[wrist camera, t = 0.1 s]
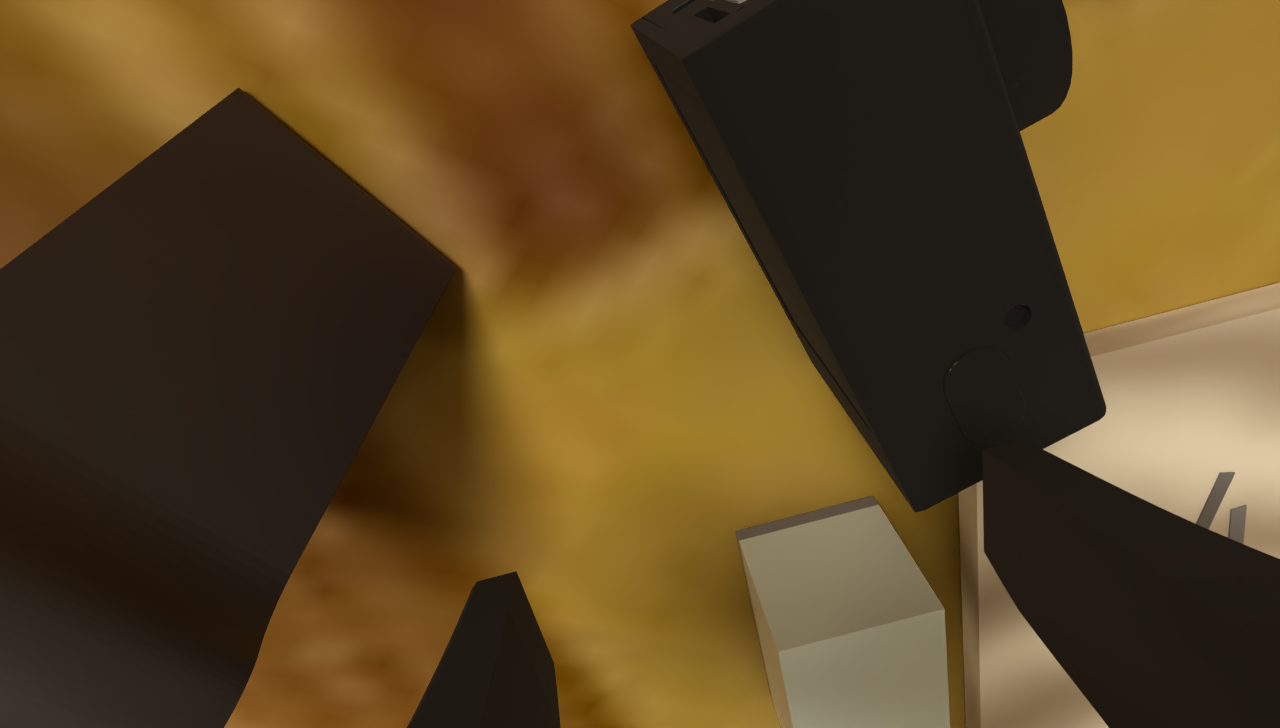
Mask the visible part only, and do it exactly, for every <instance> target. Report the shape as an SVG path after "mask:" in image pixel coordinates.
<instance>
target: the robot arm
mask: <svg viewBox="0 0 1280 728" xmlns="http://www.w3.org/2000/svg"><path fill="white" fill-rule="evenodd" d="M982 465H983V530H984V553H985V554H986V556H987V558H988V560H989V561H990V563H991V565H992V566H993V568H994V570H995V572H996V573H997V575H998V577H999V579H1000V580H1001V582H1002V584H1003V586H1004V587H1005V589H1006V590H1007V592H1008V594H1009V595H1010V597H1011V599H1012V600H1013V602H1014V604H1015V605H1016V607H1017V608H1018V610H1019V611H1020V613H1021V614H1022V616H1023V617H1024V618H1025V620H1026V621H1027V622H1028V624H1029V625H1030V626H1031V627H1032V629H1033V630H1034V631H1035V633H1036V634H1037V635H1038V637H1039V638H1040V639H1041V641H1042V642H1043V643H1044V644H1045V646H1046V647H1047V648H1048V650H1049V651H1050V652H1051V654H1052V655H1053V656H1054V658H1055V659H1056V660H1057V661H1058V663H1059V664H1060V665H1061V667H1062V668H1063V669H1064V670H1065V672H1066V673H1067V674H1068V676H1069V677H1070V678H1071V679H1072V681H1073V682H1074V683H1075V685H1076V686H1077V687H1078V688H1079V690H1080V691H1081V692H1082V694H1083V695H1084V696H1085V697H1086V699H1087V700H1088V701H1089V703H1090V704H1091V705H1092V706H1093V708H1094V709H1095V710H1096V712H1097V713H1098V714H1099V715H1100V717H1101V718H1102V719H1103V721H1104V722H1105V723H1106V724H1107V726H1108V727H1109V728H1280V559H1279V558H1276V557H1274V556H1271V555H1268V554H1266V553H1263V552H1261V551H1258V550H1256V549H1254V548H1251V547H1249V546H1246V545H1244V544H1242V543H1239V542H1237V541H1235V540H1232V539H1230V538H1228V537H1225V536H1223V535H1220V534H1218V533H1216V532H1213V531H1211V530H1209V529H1206V528H1204V527H1202V526H1200V525H1197V524H1195V523H1193V522H1191V521H1189V520H1186V519H1184V518H1182V517H1180V516H1177V515H1175V514H1173V513H1171V512H1169V511H1167V510H1165V509H1162V508H1160V507H1158V506H1156V505H1154V504H1152V503H1150V502H1148V501H1146V500H1143V499H1141V498H1139V497H1137V496H1135V495H1133V494H1131V493H1129V492H1127V491H1125V490H1123V489H1121V488H1119V487H1117V486H1115V485H1113V484H1111V483H1109V482H1107V481H1105V480H1103V479H1101V478H1099V477H1097V476H1095V475H1093V474H1091V473H1089V472H1087V471H1085V470H1083V469H1081V468H1079V467H1077V466H1075V465H1073V464H1071V463H1069V462H1067V461H1065V460H1063V459H1061V458H1059V457H1057V456H1055V455H1053V454H1051V453H1049V452H1047V451H1045V450H1043V449H1041V448H1039V447H1037V446H1035V445H1033V444H1030V443H1028V442H1026V441H1024V440H1018V441H1014V442H1010V443H1007V444H1003V445H999V446H995V447H991V448H987V449H984V450H982ZM407 728H560V718H559V707H558V697H557V687H556V678H555V669H554V662H553V660H552V658H551V655H550V653H549V650H548V648H547V645H546V643H545V640H544V638H543V636H542V633H541V631H540V628H539V626H538V623H537V621H536V618H535V616H534V614H533V611H532V609H531V606H530V604H529V601H528V599H527V596H526V594H525V592H524V589H523V587H522V584H521V582H520V579H519V577H518V574H517V572H512V573H508V574H504V575H501V576H497V577H493V578H489V579H485V580H481V581H478V582H476V584H475V586H474V587H473V589H472V591H471V593H470V595H469V598H468V600H467V602H466V605H465V607H464V609H463V612H462V614H461V616H460V618H459V621H458V623H457V625H456V628H455V630H454V632H453V634H452V637H451V639H450V641H449V643H448V645H447V648H446V650H445V652H444V654H443V656H442V658H441V661H440V663H439V665H438V667H437V669H436V671H435V673H434V675H433V677H432V679H431V681H430V683H429V685H428V687H427V689H426V691H425V693H424V695H423V697H422V700H421V702H420V704H419V706H418V708H417V710H416V712H415V713H414V715H413V717H412V719H411V721H410V723H409V725H408V727H407Z"/></svg>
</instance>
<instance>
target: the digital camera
mask: <svg viewBox="0 0 1280 728" xmlns="http://www.w3.org/2000/svg"><path fill="white" fill-rule="evenodd" d="M646 19H647V20H646ZM648 20H649V21H648ZM650 21H651V22H650ZM652 22H653V23H652ZM654 23H655V24H654ZM656 24H657V25H656ZM631 27H632V29H633V31H634V32H635V34H636V36H637V38H638V40H639V42H640V44H641V45H642V47H643V49H644V51H645V53H646V55H647V57H648V58H649V60H650V62H651V64H652V66H653V68H654V70H655V71H656V73H657V75H658V77H659V79H660V81H661V83H662V84H663V86H664V88H665V90H666V92H667V94H668V96H669V97H670V99H671V101H672V103H673V105H674V107H675V109H676V110H677V112H678V114H679V116H680V118H681V120H682V122H683V123H684V125H685V127H686V129H687V131H688V133H689V135H690V136H691V138H692V140H693V142H694V144H695V146H696V148H697V149H698V151H699V153H700V155H701V157H702V159H703V161H704V162H705V164H706V166H707V168H708V170H709V172H710V174H711V175H712V177H713V179H714V181H715V183H716V185H717V187H718V188H719V190H720V192H721V194H722V196H723V198H724V200H725V201H726V203H727V205H728V207H729V209H730V211H731V213H732V214H733V216H734V218H735V220H736V222H737V224H738V226H739V227H740V229H741V231H742V233H743V235H744V237H745V239H746V240H747V242H748V244H749V246H750V248H751V250H752V252H753V253H754V255H755V257H756V259H757V261H758V263H759V265H760V266H761V268H762V270H763V272H764V274H765V276H766V278H767V279H768V281H769V283H770V285H771V287H772V289H773V291H774V292H775V294H776V296H777V298H778V300H779V302H780V304H781V305H782V307H783V309H784V311H785V313H786V315H787V317H788V318H789V320H790V322H791V324H792V326H793V328H794V330H795V331H796V333H797V335H798V337H799V339H800V341H801V343H802V344H803V346H804V348H805V350H806V352H807V354H808V356H809V357H810V359H811V361H812V363H813V364H814V366H815V367H816V369H817V370H818V372H819V373H820V375H821V376H822V378H823V379H824V380H825V382H826V383H827V385H828V386H829V388H830V389H831V391H832V392H833V394H834V395H835V397H836V398H837V399H838V401H839V402H840V404H841V405H842V407H843V408H844V410H845V411H846V413H847V414H848V415H849V417H850V418H851V420H852V421H853V423H854V424H855V426H856V427H857V429H858V430H859V431H860V433H861V434H862V436H863V437H864V439H865V440H866V442H867V443H868V445H869V446H870V447H871V449H872V450H873V452H874V453H875V455H876V456H877V458H878V459H879V461H880V462H881V463H882V465H883V466H884V468H885V469H886V471H887V472H888V474H889V475H890V477H891V478H892V479H893V481H894V482H895V484H896V485H897V487H898V488H899V490H900V491H901V493H902V494H903V495H904V497H905V498H906V500H907V501H908V503H909V504H910V506H911V507H912V508H913V510H914V511H915V512H919V511H923V510H926V509H928V508H930V507H931V506H933V505H935V504H937V503H939V502H941V501H943V500H945V499H947V498H949V497H951V496H953V495H955V494H957V493H959V492H961V491H962V490H964V489H966V488H968V487H970V486H972V485H974V484H976V483H978V482H980V481H982V480H983V465H982V450H984V449H987V448H991V447H995V446H999V445H1003V444H1007V443H1010V442H1014V441H1018V440H1024V441H1026V442H1028V443H1030V444H1033V445H1035V446H1037V447H1039V448H1041V449H1044V448H1046V447H1048V446H1050V445H1052V444H1054V443H1056V442H1058V441H1060V440H1062V439H1064V438H1066V437H1068V436H1070V435H1072V434H1074V433H1076V432H1078V431H1079V430H1081V429H1083V428H1085V427H1087V426H1089V425H1091V424H1093V423H1095V422H1097V421H1099V420H1100V419H1101V418H1103V417H1104V416H1105V414H1106V404H1105V400H1104V397H1103V394H1102V391H1101V388H1100V385H1099V381H1098V378H1097V375H1096V372H1095V369H1094V366H1093V363H1092V359H1091V356H1090V353H1089V350H1088V347H1087V344H1086V340H1085V337H1084V334H1083V331H1082V328H1081V325H1080V321H1079V318H1078V315H1077V312H1076V309H1075V306H1074V302H1073V299H1072V296H1071V293H1070V290H1069V287H1068V283H1067V280H1066V277H1065V274H1064V271H1063V268H1062V264H1061V261H1060V258H1059V255H1058V252H1057V249H1056V245H1055V242H1054V239H1053V236H1052V233H1051V230H1050V227H1049V223H1048V220H1047V217H1046V214H1045V211H1044V208H1043V204H1042V201H1041V198H1040V195H1039V192H1038V189H1037V185H1036V182H1035V179H1034V176H1033V173H1032V170H1031V166H1030V163H1029V160H1028V157H1027V154H1026V151H1025V147H1024V144H1023V141H1022V138H1021V135H1020V131H1021V130H1023V129H1025V128H1027V127H1029V126H1030V125H1032V124H1034V123H1036V122H1038V121H1039V120H1041V119H1043V118H1045V117H1047V116H1048V115H1050V114H1052V113H1053V112H1054V111H1056V110H1057V109H1058V108H1059V107H1060V106H1061V104H1062V103H1063V101H1064V100H1065V98H1066V96H1067V93H1068V90H1069V87H1070V84H1071V77H1072V45H1071V37H1070V31H1069V26H1068V21H1067V16H1066V11H1065V8H1064V5H1063V2H1062V0H668V1H666V2H665V3H663V4H662V5H660V6H659V7H657V8H656V9H654V10H652V11H651V12H649V13H648V14H646V15H645V16H643V17H642V18H640V19H639V20H637V21H636V22H634V23H633V24H631Z"/></svg>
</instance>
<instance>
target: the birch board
mask: <svg viewBox="0 0 1280 728" xmlns="http://www.w3.org/2000/svg"><path fill="white" fill-rule="evenodd" d="M1084 337H1085V340H1086V344H1087V347H1088V350H1089V353H1090V356H1091V359H1092V363H1093V366H1094V369H1095V372H1096V375H1097V378H1098V381H1099V385H1100V388H1101V391H1102V394H1103V397H1104V400H1105V404H1106V414H1105V416H1104V417H1103V418H1101V419H1100V420H1099V421H1097V422H1095V423H1093V424H1091V425H1089V426H1087V427H1085V428H1083V429H1081V430H1079V431H1078V432H1076V433H1074V434H1072V435H1070V436H1068V437H1066V438H1064V439H1062V440H1060V441H1058V442H1056V443H1054V444H1052V445H1050V446H1048V447H1046V448H1044V449H1043V450H1045V451H1047V452H1049V453H1051V454H1053V455H1055V456H1057V457H1059V458H1061V459H1063V460H1065V461H1067V462H1069V463H1071V464H1073V465H1075V466H1077V467H1079V468H1081V469H1083V470H1085V471H1087V472H1089V473H1091V474H1093V475H1095V476H1097V477H1099V478H1101V479H1103V480H1105V481H1107V482H1109V483H1111V484H1113V485H1115V486H1117V487H1119V488H1121V489H1123V490H1125V491H1127V492H1129V493H1131V494H1133V495H1135V496H1137V497H1139V498H1141V499H1143V500H1146V501H1148V502H1150V503H1152V504H1154V505H1156V506H1158V507H1160V508H1162V509H1165V510H1167V511H1169V512H1171V513H1173V514H1175V515H1177V516H1180V517H1182V518H1184V519H1186V520H1189V521H1191V522H1193V523H1195V524H1197V525H1200V526H1202V527H1204V528H1206V529H1209V530H1211V531H1213V532H1216V533H1218V534H1220V535H1223V536H1225V537H1228V538H1230V539H1232V540H1235V541H1237V542H1239V543H1242V544H1244V545H1246V546H1249V547H1251V548H1254V549H1256V550H1258V551H1261V552H1263V553H1266V554H1268V555H1271V556H1274V557H1276V558H1279V559H1280V283H1276V284H1272V285H1269V286H1265V287H1261V288H1257V289H1253V290H1249V291H1246V292H1242V293H1238V294H1234V295H1230V296H1226V297H1222V298H1219V299H1215V300H1211V301H1207V302H1203V303H1199V304H1195V305H1192V306H1188V307H1184V308H1180V309H1176V310H1172V311H1169V312H1165V313H1161V314H1157V315H1153V316H1149V317H1145V318H1142V319H1138V320H1134V321H1130V322H1126V323H1122V324H1118V325H1115V326H1111V327H1107V328H1103V329H1099V330H1095V331H1092V332H1088V333H1084ZM958 497H959V528H960V560H961V592H962V623H963V655H964V687H965V718H966V728H1109V727H1108V726H1107V724H1106V723H1105V722H1104V721H1103V719H1102V718H1101V717H1100V715H1099V714H1098V713H1097V712H1096V710H1095V709H1094V708H1093V706H1092V705H1091V704H1090V703H1089V701H1088V700H1087V699H1086V697H1085V696H1084V695H1083V694H1082V692H1081V691H1080V690H1079V688H1078V687H1077V686H1076V685H1075V683H1074V682H1073V681H1072V679H1071V678H1070V677H1069V676H1068V674H1067V673H1066V672H1065V670H1064V669H1063V668H1062V667H1061V665H1060V664H1059V663H1058V661H1057V660H1056V659H1055V658H1054V656H1053V655H1052V654H1051V652H1050V651H1049V650H1048V648H1047V647H1046V646H1045V644H1044V643H1043V642H1042V641H1041V639H1040V638H1039V637H1038V635H1037V634H1036V633H1035V631H1034V630H1033V629H1032V627H1031V626H1030V625H1029V624H1028V622H1027V621H1026V620H1025V618H1024V617H1023V616H1022V614H1021V613H1020V611H1019V610H1018V608H1017V607H1016V605H1015V604H1014V602H1013V600H1012V599H1011V597H1010V595H1009V594H1008V592H1007V590H1006V589H1005V587H1004V586H1003V584H1002V582H1001V580H1000V579H999V577H998V575H997V573H996V572H995V570H994V568H993V566H992V565H991V563H990V561H989V560H988V558H987V556H986V554H985V553H984V530H983V480H982V481H980V482H978V483H976V484H974V485H972V486H970V487H968V488H966V489H964V490H962V491H961V492H959V493H958Z"/></svg>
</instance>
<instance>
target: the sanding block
mask: <svg viewBox="0 0 1280 728" xmlns="http://www.w3.org/2000/svg"><path fill="white" fill-rule="evenodd" d="M736 536H737V541H738V545H739V550H740V555H741V559H742V564H743V569H744V573H745V578H746V583H747V587H748V592H749V597H750V601H751V606H752V611H753V615H754V620H755V625H756V629H757V634H758V639H759V643H760V648H761V653H762V657H763V662H764V667H765V671H766V676H767V681H768V685H769V690H770V695H771V698H772V701H773V704H774V707H775V710H776V714H777V717H778V720H779V723H780V726H781V728H950V713H949V692H948V670H947V649H946V627H945V609H944V607H943V605H942V604H941V602H940V601H939V599H938V597H937V596H936V594H935V593H934V591H933V590H932V588H931V586H930V585H929V583H928V582H927V580H926V578H925V577H924V575H923V574H922V572H921V571H920V569H919V567H918V566H917V564H916V563H915V561H914V559H913V558H912V556H911V555H910V553H909V552H908V550H907V548H906V547H905V545H904V544H903V542H902V540H901V539H900V537H899V536H898V534H897V533H896V531H895V529H894V528H893V526H892V525H891V523H890V521H889V520H888V518H887V517H886V515H885V514H884V512H883V510H882V509H881V507H880V506H879V504H878V502H877V501H876V499H875V498H874V496H869V497H866V498H862V499H858V500H854V501H850V502H846V503H842V504H839V505H835V506H831V507H827V508H823V509H819V510H815V511H812V512H808V513H804V514H800V515H796V516H792V517H788V518H785V519H781V520H777V521H773V522H769V523H765V524H761V525H758V526H754V527H750V528H746V529H742V530H738V531H736Z"/></svg>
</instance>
